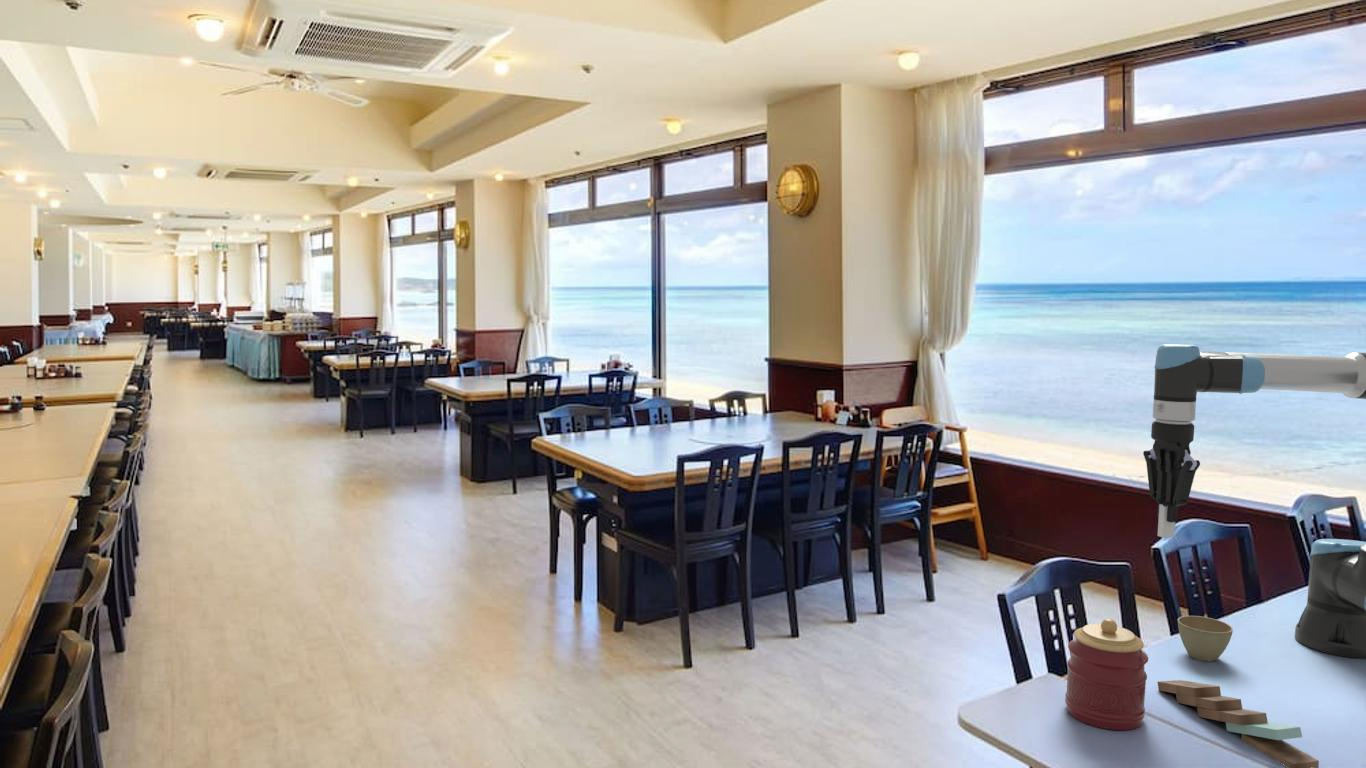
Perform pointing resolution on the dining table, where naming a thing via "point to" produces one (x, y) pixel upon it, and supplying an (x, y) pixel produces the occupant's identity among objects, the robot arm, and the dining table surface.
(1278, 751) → the domino
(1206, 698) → the domino
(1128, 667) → the canister
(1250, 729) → the domino
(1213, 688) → the domino
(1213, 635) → the flower pot
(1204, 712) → the domino
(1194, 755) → the dining table surface
